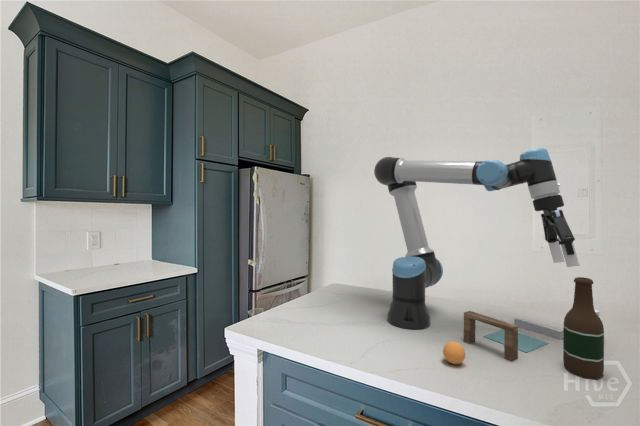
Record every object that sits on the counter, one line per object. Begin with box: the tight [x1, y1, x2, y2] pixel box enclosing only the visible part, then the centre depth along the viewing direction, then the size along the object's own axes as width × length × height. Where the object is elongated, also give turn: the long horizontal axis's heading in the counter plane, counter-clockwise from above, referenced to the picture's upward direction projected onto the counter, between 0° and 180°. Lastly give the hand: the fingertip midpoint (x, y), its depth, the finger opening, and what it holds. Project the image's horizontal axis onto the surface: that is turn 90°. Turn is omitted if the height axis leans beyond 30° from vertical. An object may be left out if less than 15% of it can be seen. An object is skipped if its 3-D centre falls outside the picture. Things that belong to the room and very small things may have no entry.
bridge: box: [463, 310, 519, 362], centre depth 89 cm, size 3×14×9 cm, turn 30°
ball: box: [442, 341, 466, 365], centre depth 81 cm, size 6×6×6 cm
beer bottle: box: [562, 276, 605, 381], centre depth 77 cm, size 8×8×24 cm
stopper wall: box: [513, 317, 564, 340], centre depth 102 cm, size 14×2×2 cm, turn 29°
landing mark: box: [482, 329, 549, 354], centre depth 96 cm, size 13×13×1 cm
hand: (565, 264), depth 91 cm, fingers open, 13 cm apart
